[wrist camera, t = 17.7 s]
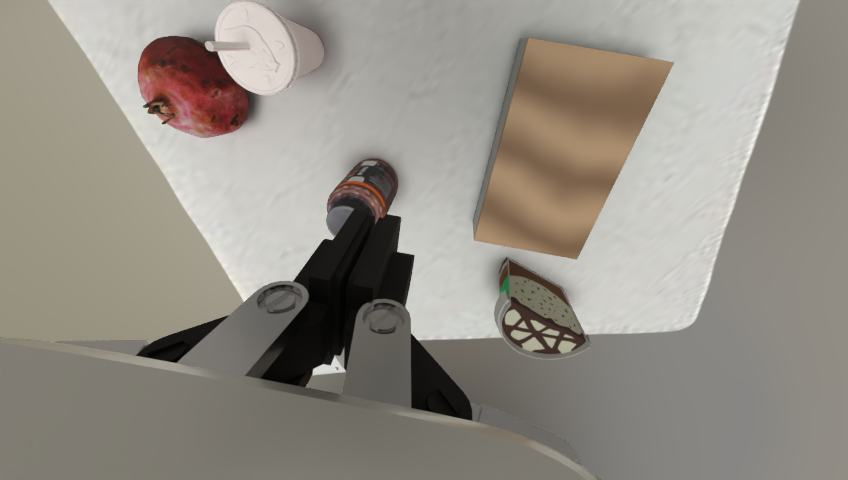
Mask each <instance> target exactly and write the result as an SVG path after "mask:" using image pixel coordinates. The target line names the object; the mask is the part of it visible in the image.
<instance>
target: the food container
mask: <svg viewBox="0 0 848 480" xmlns="http://www.w3.org/2000/svg"><path fill="white" fill-rule="evenodd" d="M494 316H495V321H496V324H497V327H498V329H499V332H500V334H501V336H502V337H503V339H504V340H505V341H506V342H507V344H508V345H509V346H510V347H511V348H513V349H514V350H516V351H517V352H519V353H521V354H523V355H526V356H529V357H532V358H537V359H548V360H549V359H561V358H566V357H570V356H574V355H576V354H579V353H581V352H583V351H585V350H587V349H588V348H590V347H591V346H590V343H591V342H590V339H589V335H588V334H587V335H585V333H584V331H583V329H582V327H581V325H580V323H579V321H578V319H577V317H576V315H575V313H574V311H573V309H572V307H571V305H570V303H569V301H568V299H567V297H566V295H565V293H564V291H563V289H562V287H561V286H559V285H557V284H555V283H553V282H552V281H550V280H548V279H546V278H544V277H543V276H541V275H539V274H537V273H535V272H534V271H532V270H530V269H528V268H526V267H525V266H523V265H521V264H519V263H517V262H516V261H514V260H512V259H510V258H508V257H507V258H506V259H505V261H504V262H503V264H502V266H501V269H500V297H499V299H498V300H497V303H496V306H495V311H494Z"/></svg>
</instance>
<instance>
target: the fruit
mask: <svg viewBox="0 0 848 480" xmlns="http://www.w3.org/2000/svg"><path fill="white" fill-rule="evenodd" d="M138 83H139V87H140V91H141V95H142V97H143V99H144V100H145V101H146V103H147V104H145V105H144V106H143V107H144V108H148V107H149V109H148V113H149V114H157V116H158V117H159V118H161V119H162V120H163V121H164V122H163V123H162V124H166V123H167V124H168V125H170V126H172V127H173V128H175V129H177V130H180V131H182V132H185V133H188V134H191V135H194V136H197V137H201V138H208V137H214V136H219V135H223V134H227V133H230V132H233V131H235V130H237V129H239V128H240V127H241V126H242V125H243V123H244V121H245V120H246V117H247V113H248V107H249V104H248V96H247V94H246V92H245V90H244V88H243V87H242V86H240V85H239V84H238V83H237V82H236V81H235V80H234V79H233V78H232V77H231V76H230V75H229V73H228V72H227V71H226V69H225V68H224V66H223V64H222V62H221V60H220V58H219V55H218V52H217V51H209V50H207V48H206V47H205V45H204V44H202V43H200V42H198V41H196V40H194V39H192V38H188V37H179V36H168V37H162V38H158V39H156V40H154V41H153V42H151V43H150V44H149V45H148V46H147V47H146V48H145V49H144V51H143V52H142V55H141V57H140V61H139V64H138Z"/></svg>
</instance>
